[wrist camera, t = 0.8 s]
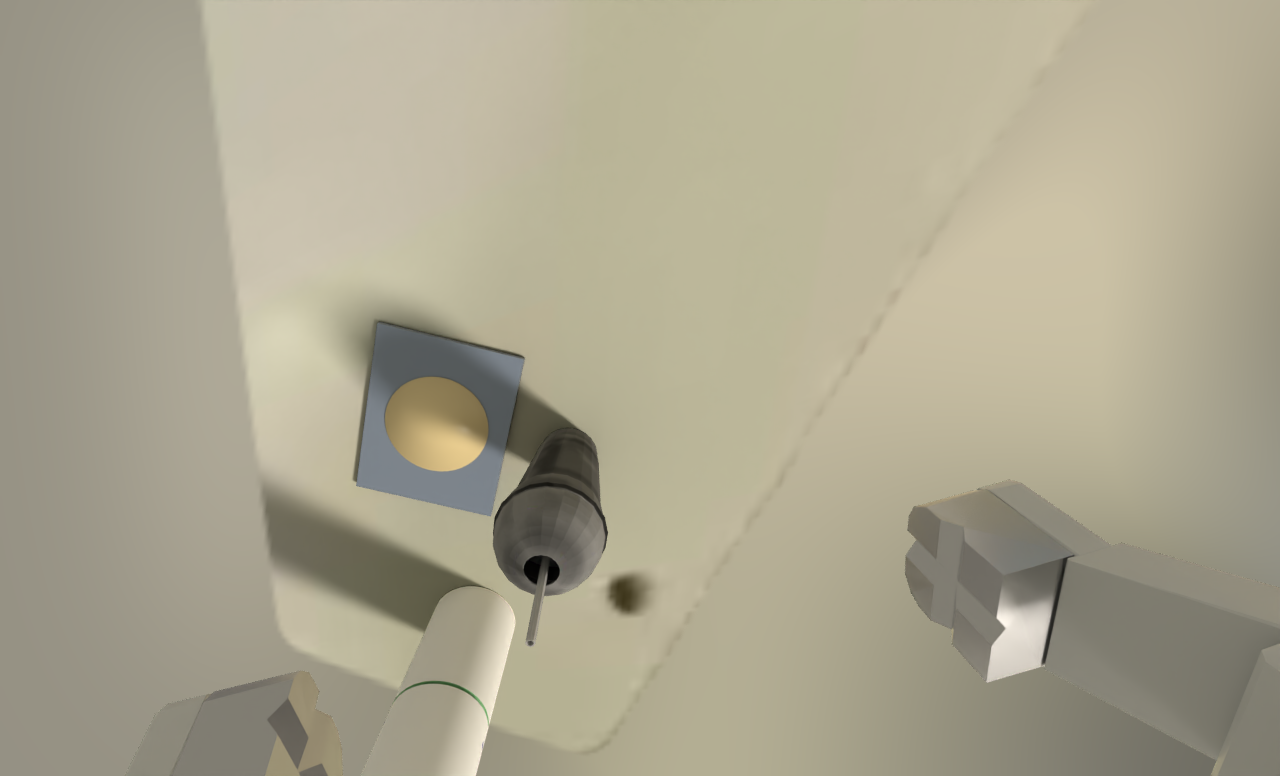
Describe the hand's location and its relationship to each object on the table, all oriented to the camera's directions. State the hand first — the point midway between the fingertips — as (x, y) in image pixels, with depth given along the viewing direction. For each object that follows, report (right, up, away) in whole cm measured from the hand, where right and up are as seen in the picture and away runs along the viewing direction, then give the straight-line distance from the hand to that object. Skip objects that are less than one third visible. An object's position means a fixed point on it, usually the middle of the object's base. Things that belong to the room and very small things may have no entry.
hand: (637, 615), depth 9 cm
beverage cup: (-6, -2, +44) cm, 44 cm away
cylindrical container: (-15, -17, +49) cm, 54 cm away
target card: (-16, 0, +43) cm, 46 cm away
